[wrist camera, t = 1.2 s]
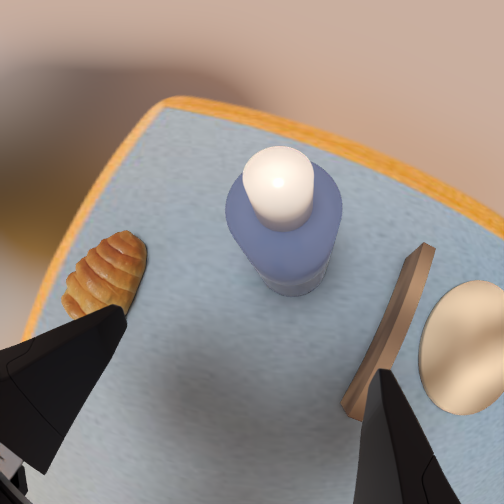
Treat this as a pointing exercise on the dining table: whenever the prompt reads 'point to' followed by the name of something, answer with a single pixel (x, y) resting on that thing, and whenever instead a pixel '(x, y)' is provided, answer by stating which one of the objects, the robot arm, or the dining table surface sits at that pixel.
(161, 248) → the dining table surface
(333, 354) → the dining table surface
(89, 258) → the pastry
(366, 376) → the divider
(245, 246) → the soy bottle
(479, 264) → the dining table surface
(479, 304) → the disc
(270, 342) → the dining table surface
